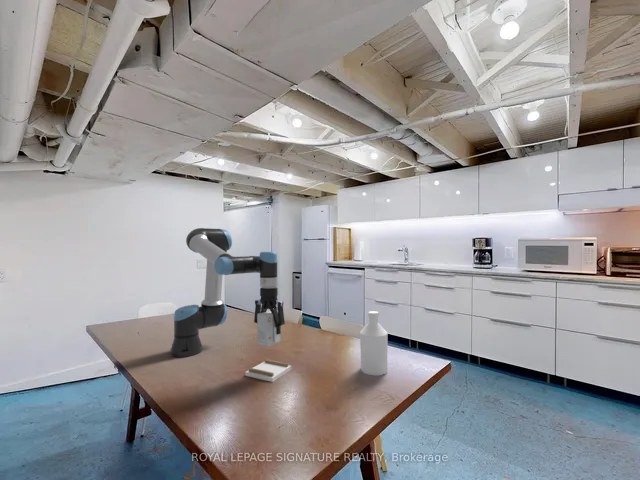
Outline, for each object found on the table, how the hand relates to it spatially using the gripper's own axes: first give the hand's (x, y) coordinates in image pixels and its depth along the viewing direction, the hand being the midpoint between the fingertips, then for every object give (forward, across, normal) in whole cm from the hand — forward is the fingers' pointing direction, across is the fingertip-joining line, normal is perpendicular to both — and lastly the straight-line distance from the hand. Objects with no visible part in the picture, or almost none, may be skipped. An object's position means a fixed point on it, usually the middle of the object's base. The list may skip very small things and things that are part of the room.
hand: (269, 340), depth 128 cm
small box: (+1, 0, 0) cm, 1 cm away
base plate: (+14, 0, 0) cm, 14 cm away
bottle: (+14, +40, +22) cm, 48 cm away
